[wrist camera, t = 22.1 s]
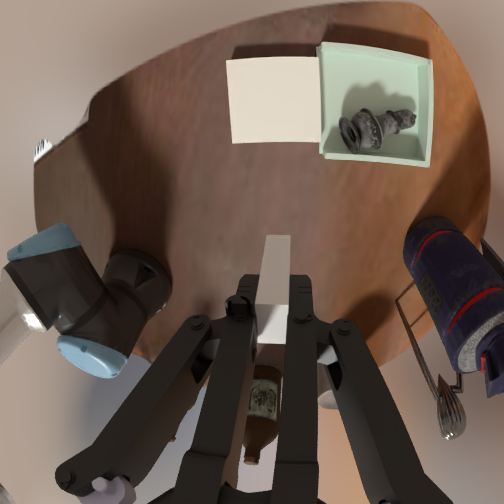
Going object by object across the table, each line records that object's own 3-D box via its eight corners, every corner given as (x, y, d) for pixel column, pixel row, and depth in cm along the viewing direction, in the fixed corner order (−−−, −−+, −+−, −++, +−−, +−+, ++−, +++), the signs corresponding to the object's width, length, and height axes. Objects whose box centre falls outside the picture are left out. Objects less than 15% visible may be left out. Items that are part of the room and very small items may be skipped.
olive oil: (277, 388, 69) (268, 470, 48) (239, 380, 69) (223, 463, 48) (288, 368, 64) (282, 461, 42) (247, 360, 64) (229, 454, 42)
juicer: (395, 299, 49) (435, 438, 23) (440, 295, 47) (492, 418, 22) (385, 332, 54) (410, 458, 28) (427, 328, 52) (463, 443, 27)
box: (319, 153, 37) (322, 158, 34) (315, 47, 29) (318, 41, 25) (418, 160, 35) (429, 167, 31) (420, 62, 27) (432, 60, 23)
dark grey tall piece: (345, 152, 35) (409, 131, 34) (364, 161, 30) (433, 138, 29) (333, 113, 32) (400, 95, 31) (351, 116, 27) (424, 97, 26)
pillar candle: (335, 365, 61) (340, 418, 48) (306, 351, 59) (306, 408, 46) (365, 344, 56) (375, 399, 44) (336, 328, 55) (343, 388, 42)
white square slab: (235, 140, 38) (232, 143, 36) (230, 62, 32) (226, 60, 29) (319, 139, 36) (321, 142, 34) (316, 59, 30) (318, 57, 28)
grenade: (411, 281, 46) (466, 420, 21) (390, 235, 42) (464, 391, 17) (467, 246, 40) (547, 366, 15) (453, 195, 36) (565, 315, 11)
